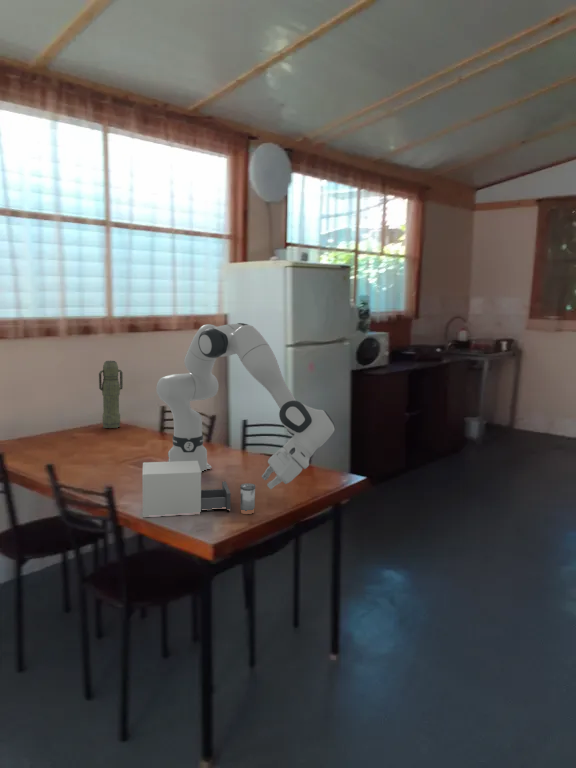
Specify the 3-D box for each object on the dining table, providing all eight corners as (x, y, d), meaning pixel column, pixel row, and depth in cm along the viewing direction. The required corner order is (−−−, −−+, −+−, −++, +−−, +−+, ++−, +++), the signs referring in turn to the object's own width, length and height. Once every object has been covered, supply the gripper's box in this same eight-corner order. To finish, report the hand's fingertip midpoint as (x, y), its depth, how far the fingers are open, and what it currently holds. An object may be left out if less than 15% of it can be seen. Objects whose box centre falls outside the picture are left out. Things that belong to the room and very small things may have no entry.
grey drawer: (174, 500, 203) (174, 483, 202) (225, 498, 207) (225, 481, 206) (176, 514, 190) (176, 495, 190) (230, 511, 194) (230, 493, 193)
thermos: (97, 426, 317) (96, 360, 312) (119, 424, 324) (118, 359, 319) (103, 430, 310) (101, 362, 305) (125, 427, 317) (124, 361, 312)
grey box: (143, 503, 201) (142, 462, 199) (197, 500, 205) (197, 460, 203) (142, 518, 188) (142, 474, 186) (200, 514, 192) (201, 472, 190)
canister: (239, 510, 197) (239, 483, 196) (253, 509, 198) (254, 483, 197) (241, 515, 192) (241, 488, 191) (256, 514, 193) (256, 487, 192)
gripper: (282, 438, 205) (253, 467, 204) (296, 453, 185) (265, 485, 185) (294, 451, 207) (266, 479, 206) (310, 467, 187) (278, 499, 186)
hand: (265, 482), depth 195 cm, fingers open, 8 cm apart
